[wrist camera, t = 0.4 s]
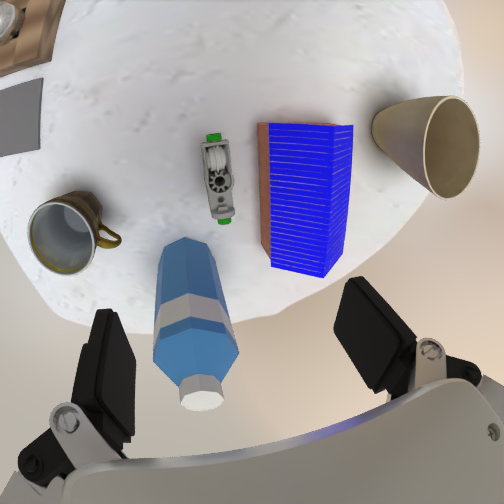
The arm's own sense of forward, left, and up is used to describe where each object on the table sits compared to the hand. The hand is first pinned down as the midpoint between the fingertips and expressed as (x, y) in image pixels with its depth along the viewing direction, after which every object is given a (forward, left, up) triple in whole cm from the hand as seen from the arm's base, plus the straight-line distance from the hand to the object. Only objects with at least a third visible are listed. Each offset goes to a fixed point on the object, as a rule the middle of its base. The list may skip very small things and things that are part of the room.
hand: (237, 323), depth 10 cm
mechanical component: (0, +2, -31) cm, 31 cm away
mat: (-9, -30, -31) cm, 44 cm away
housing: (-24, -30, -31) cm, 49 cm away
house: (+2, +15, -31) cm, 35 cm away
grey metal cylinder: (-24, -30, -31) cm, 49 cm away
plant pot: (-10, +31, -31) cm, 45 cm away
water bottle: (+16, -1, -31) cm, 35 cm away
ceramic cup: (+7, -16, -31) cm, 35 cm away
